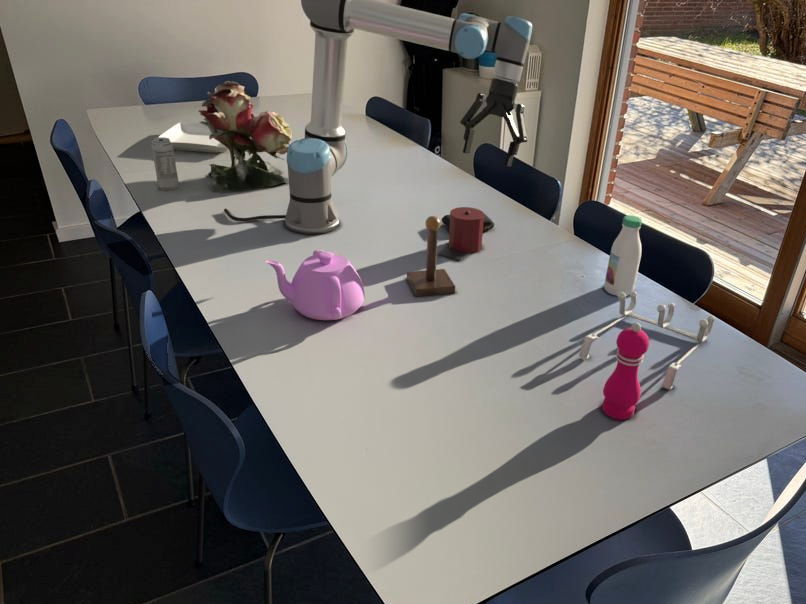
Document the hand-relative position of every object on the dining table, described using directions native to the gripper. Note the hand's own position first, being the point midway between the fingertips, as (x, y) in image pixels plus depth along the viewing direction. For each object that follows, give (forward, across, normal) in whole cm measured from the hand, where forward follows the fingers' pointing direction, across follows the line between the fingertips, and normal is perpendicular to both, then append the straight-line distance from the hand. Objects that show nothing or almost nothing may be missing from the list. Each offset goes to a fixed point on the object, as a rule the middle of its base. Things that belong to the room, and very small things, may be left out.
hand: (486, 159), depth 202 cm
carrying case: (+22, +4, -7) cm, 23 cm away
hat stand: (+31, -8, +30) cm, 44 cm away
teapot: (+38, +6, +56) cm, 68 cm away
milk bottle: (+22, -48, +3) cm, 53 cm away
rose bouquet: (+28, +84, +2) cm, 89 cm away
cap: (+25, -2, +7) cm, 26 cm away
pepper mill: (+33, -68, +52) cm, 92 cm away
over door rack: (+27, -64, +26) cm, 75 cm away
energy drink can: (+34, +94, +25) cm, 103 cm away
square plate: (+26, +121, -13) cm, 125 cm away
